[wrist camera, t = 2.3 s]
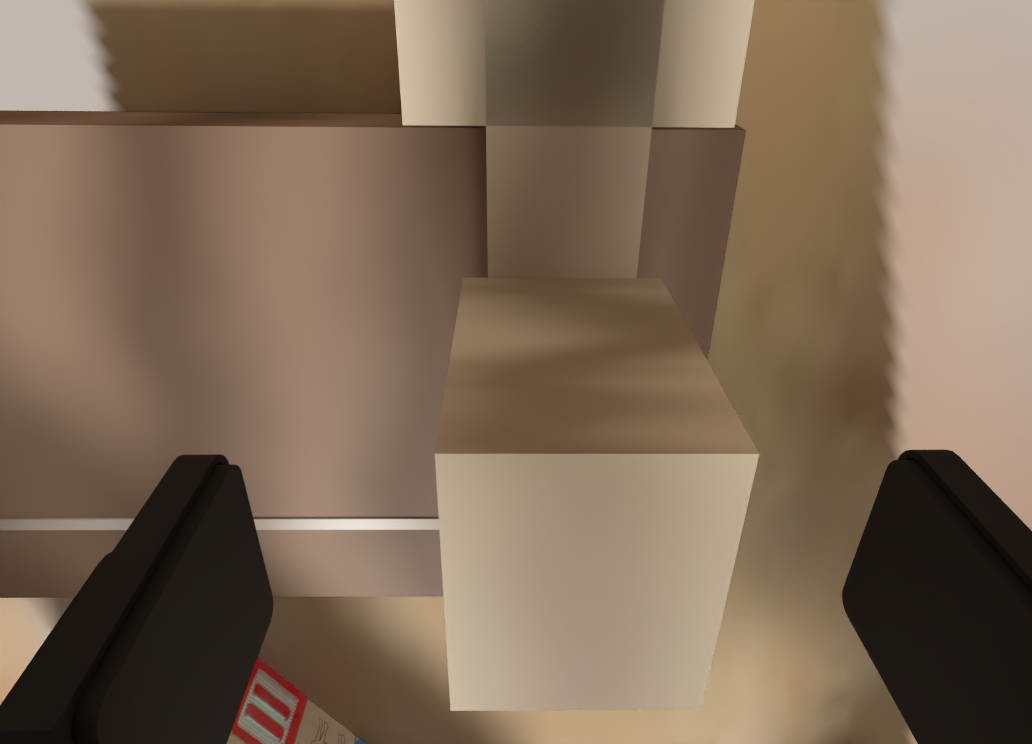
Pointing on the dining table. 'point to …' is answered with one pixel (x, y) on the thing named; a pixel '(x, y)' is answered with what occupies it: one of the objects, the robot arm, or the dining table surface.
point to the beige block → (579, 358)
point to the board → (265, 324)
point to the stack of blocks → (283, 715)
